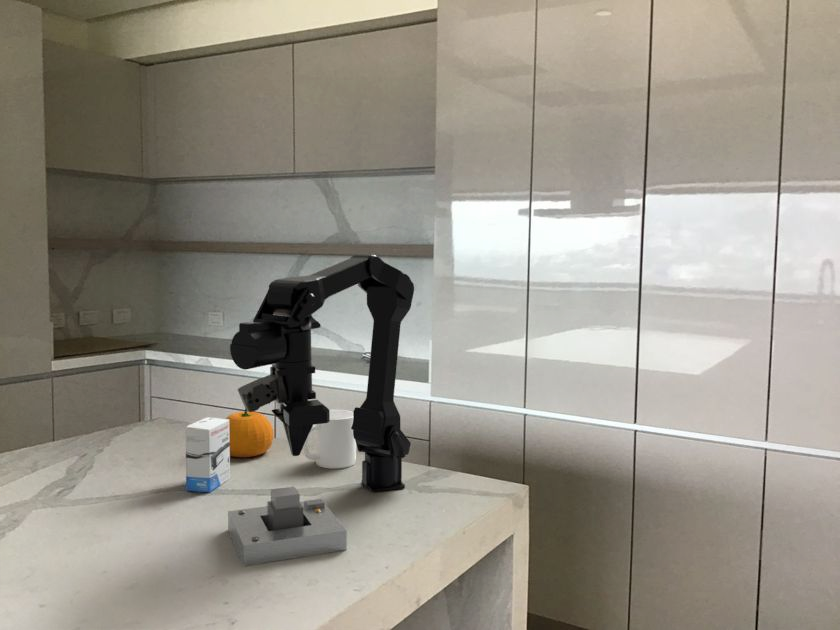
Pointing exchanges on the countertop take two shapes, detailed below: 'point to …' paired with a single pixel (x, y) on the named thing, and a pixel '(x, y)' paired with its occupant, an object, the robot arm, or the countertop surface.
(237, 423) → the fruit
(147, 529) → the countertop surface
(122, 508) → the countertop surface
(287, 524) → the plug
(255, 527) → the faceplate
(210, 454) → the ink box
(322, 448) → the cup
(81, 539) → the countertop surface
